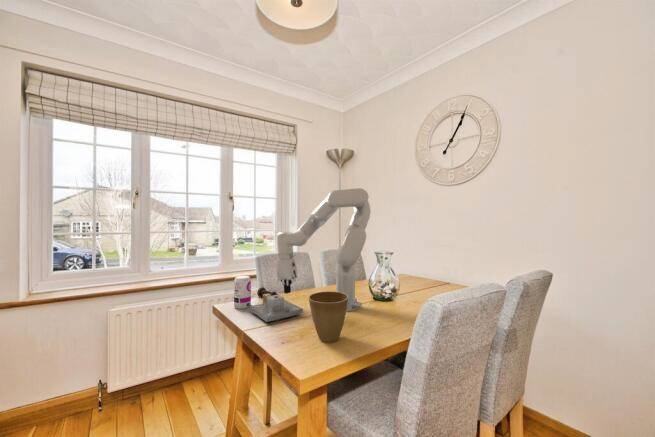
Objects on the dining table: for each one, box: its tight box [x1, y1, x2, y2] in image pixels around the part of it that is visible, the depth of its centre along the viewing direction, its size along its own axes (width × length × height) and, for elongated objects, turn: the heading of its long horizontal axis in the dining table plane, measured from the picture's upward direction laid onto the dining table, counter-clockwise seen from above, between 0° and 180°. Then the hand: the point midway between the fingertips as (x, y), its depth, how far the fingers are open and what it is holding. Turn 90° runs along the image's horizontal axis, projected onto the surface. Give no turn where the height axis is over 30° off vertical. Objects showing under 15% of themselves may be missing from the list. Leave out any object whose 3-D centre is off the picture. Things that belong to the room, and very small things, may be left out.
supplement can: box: [233, 275, 252, 310], centre depth 143 cm, size 8×8×15 cm
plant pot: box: [308, 290, 348, 343], centre depth 107 cm, size 15×15×16 cm
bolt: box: [256, 286, 280, 298], centre depth 157 cm, size 6×5×15 cm
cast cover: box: [266, 294, 285, 311], centre depth 131 cm, size 6×6×5 cm
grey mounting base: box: [249, 294, 304, 323], centre depth 133 cm, size 18×20×7 cm
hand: (287, 292), depth 141 cm, fingers closed
